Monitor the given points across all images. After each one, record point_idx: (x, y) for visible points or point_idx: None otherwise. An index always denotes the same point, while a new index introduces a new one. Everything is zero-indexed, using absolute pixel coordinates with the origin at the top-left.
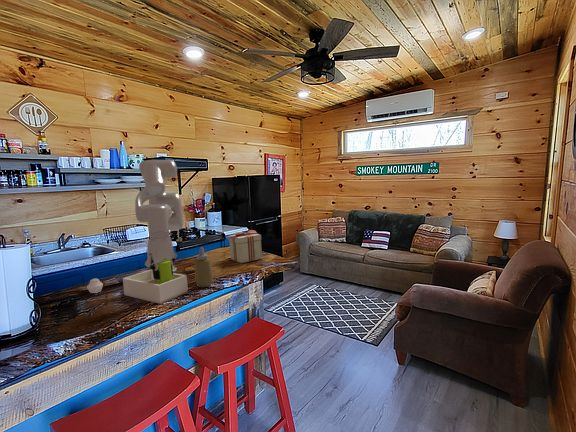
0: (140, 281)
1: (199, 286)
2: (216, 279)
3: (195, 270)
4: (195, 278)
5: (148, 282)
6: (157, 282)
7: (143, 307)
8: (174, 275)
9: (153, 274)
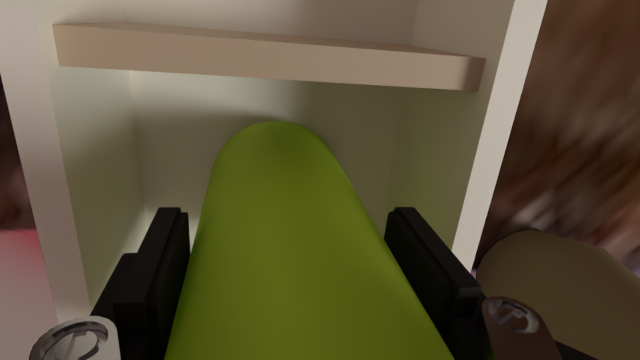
0: (7, 12)
1: (479, 271)
2: (632, 251)
3: (578, 345)
4: (515, 291)
5: (66, 192)
6: (207, 198)
7: (8, 205)
8: (450, 215)
9: (108, 293)
